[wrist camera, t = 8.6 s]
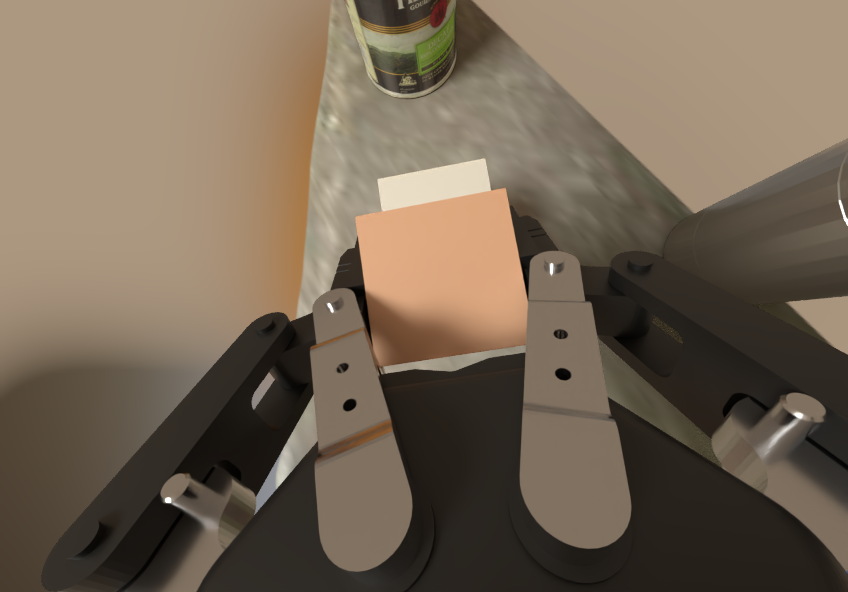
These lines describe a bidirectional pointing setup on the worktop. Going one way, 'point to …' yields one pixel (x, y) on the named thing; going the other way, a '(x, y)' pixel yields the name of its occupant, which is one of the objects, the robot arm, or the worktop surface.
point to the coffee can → (406, 43)
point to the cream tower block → (433, 185)
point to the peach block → (443, 278)
